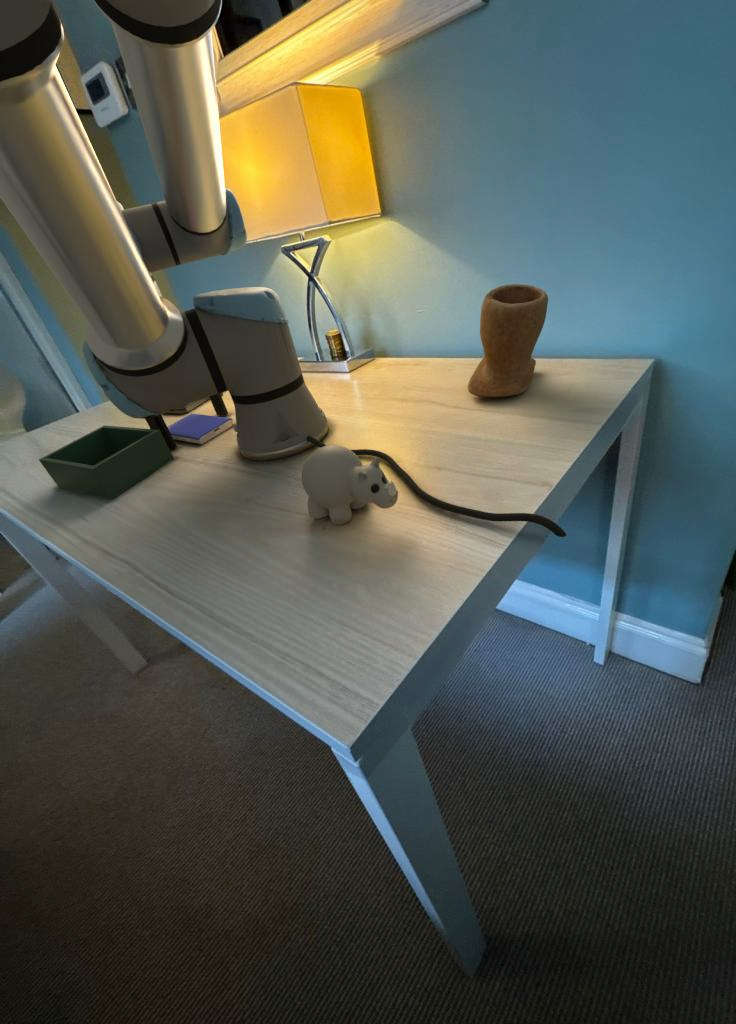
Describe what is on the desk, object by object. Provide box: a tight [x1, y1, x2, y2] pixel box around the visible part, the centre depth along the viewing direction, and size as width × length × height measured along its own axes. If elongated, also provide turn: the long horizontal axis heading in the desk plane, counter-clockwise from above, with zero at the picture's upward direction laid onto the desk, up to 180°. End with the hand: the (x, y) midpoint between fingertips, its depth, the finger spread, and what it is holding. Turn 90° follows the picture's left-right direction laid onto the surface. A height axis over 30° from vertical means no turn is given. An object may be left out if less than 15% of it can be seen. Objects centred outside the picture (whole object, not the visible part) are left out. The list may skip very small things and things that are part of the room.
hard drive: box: [167, 413, 235, 445], centre depth 85 cm, size 2×8×12 cm
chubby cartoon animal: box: [301, 444, 399, 525], centre depth 49 cm, size 7×12×8 cm, turn 55°
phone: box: [163, 397, 210, 415], centre depth 102 cm, size 8×1×15 cm
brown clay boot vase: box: [467, 283, 549, 398], centre depth 69 cm, size 15×12×15 cm
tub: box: [38, 425, 175, 500], centre depth 75 cm, size 17×13×6 cm
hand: (198, 430), depth 85 cm, fingers open, 13 cm apart
